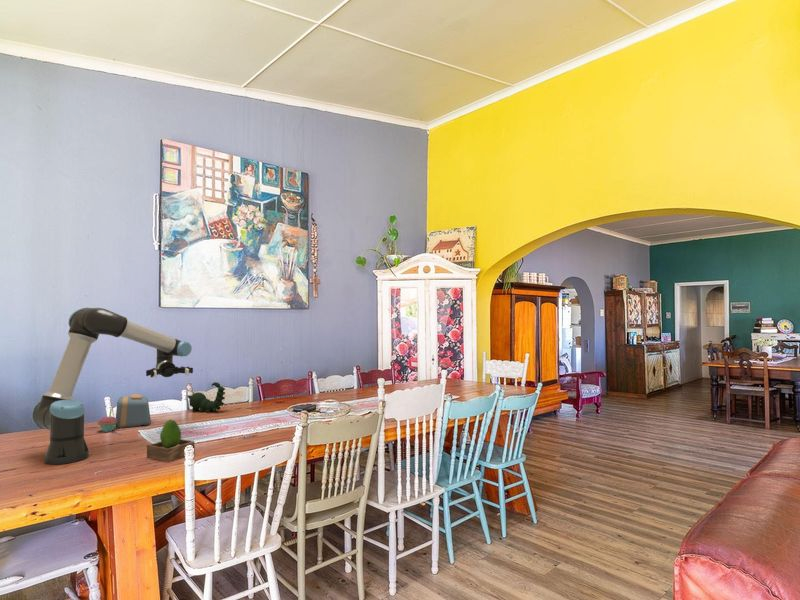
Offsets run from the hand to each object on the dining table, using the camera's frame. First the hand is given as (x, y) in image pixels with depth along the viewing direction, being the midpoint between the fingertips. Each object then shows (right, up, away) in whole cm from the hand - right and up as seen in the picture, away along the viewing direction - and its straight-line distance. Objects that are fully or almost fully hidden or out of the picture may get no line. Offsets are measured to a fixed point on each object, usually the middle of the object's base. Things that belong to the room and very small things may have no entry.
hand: (172, 373), depth 228 cm
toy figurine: (-12, -33, +68) cm, 77 cm away
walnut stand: (+9, -31, -20) cm, 38 cm away
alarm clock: (-38, -33, +37) cm, 62 cm away
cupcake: (-43, -33, +23) cm, 59 cm away
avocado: (+9, -29, -20) cm, 36 cm away
